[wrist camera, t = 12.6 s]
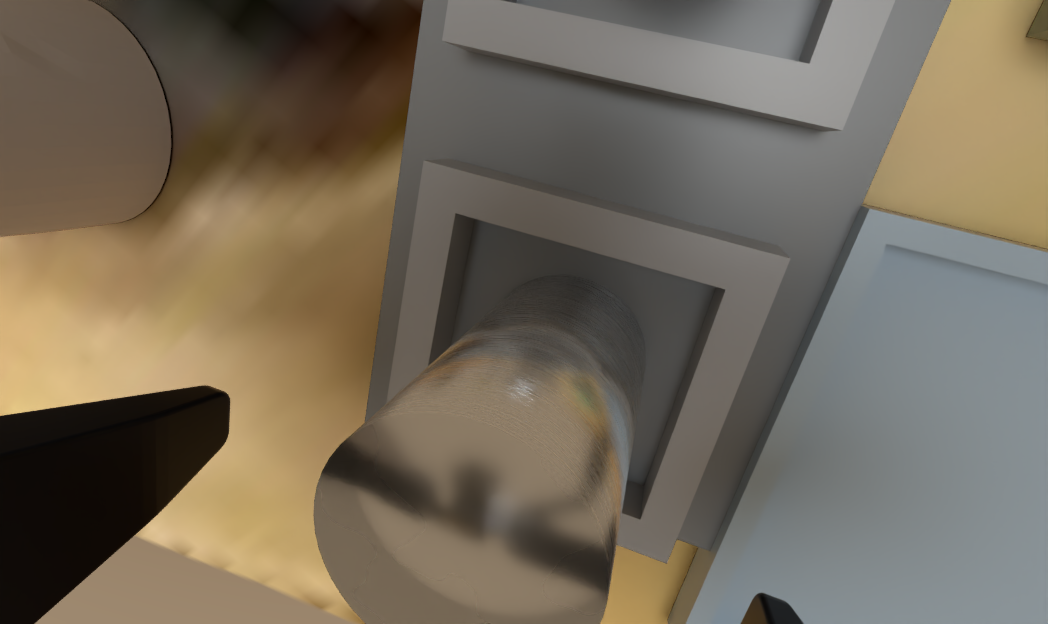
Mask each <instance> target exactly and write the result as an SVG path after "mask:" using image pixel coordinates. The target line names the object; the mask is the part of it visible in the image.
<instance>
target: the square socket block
mask: <svg viewBox="0 0 1048 624" xmlns="http://www.w3.org/2000/svg"><path fill="white" fill-rule="evenodd" d="M1026 37H1032V38H1037V39H1042V40H1048V0H1044V2H1043V4H1042V6H1041V8H1040V10H1039V12H1038V14H1037V16H1036V18H1035V20H1034V22H1033V24H1032V26H1031V28H1030V30H1029V32H1028V34H1027V36H1026Z"/></svg>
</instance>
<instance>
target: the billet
mask: <svg viewBox="0 0 1048 624" xmlns="http://www.w3.org/2000/svg"><path fill="white" fill-rule="evenodd" d="M645 366H646V347H645V341H644V337H643V334H642V331H641V328H640V326H639V324H638V322H637V320H636V318H635V316H634V315H633V313H632V312H631V310H630V309H629V308H628V306H627V305H626V304H625V303H624V302H623V301H622V300H621V299H620V298H619V297H618V296H617V295H616V294H614V293H613V292H612V291H610V290H609V289H607V288H606V287H604V286H602V285H600V284H598V283H596V282H594V281H591V280H589V279H586V278H582V277H578V276H573V275H549V276H543V277H539V278H536V279H533V280H530V281H528V282H526V283H524V284H522V285H521V286H519V287H517V288H516V289H514V290H513V291H512V292H511V293H510V294H509V295H508V296H506V297H505V298H504V299H503V300H502V301H501V302H500V303H499V304H497V305H496V306H495V307H494V308H493V309H492V310H491V311H490V312H488V313H487V314H486V315H485V316H484V317H483V318H482V319H481V320H480V321H478V322H477V323H476V324H475V325H474V326H473V327H472V328H471V329H469V330H468V331H467V332H466V333H465V334H464V335H463V336H462V337H461V338H459V339H458V340H457V341H456V342H455V343H454V344H453V345H452V346H450V347H449V348H448V349H447V350H446V351H445V352H444V353H443V354H441V355H440V356H439V357H438V358H437V359H436V360H435V361H434V362H433V363H431V364H430V365H429V366H428V367H427V368H426V369H425V370H424V371H422V372H421V373H420V374H419V375H418V376H417V377H416V378H415V379H413V380H412V381H411V382H410V383H409V384H408V385H407V386H406V387H405V388H403V389H402V390H401V391H400V392H399V393H398V394H397V395H396V396H394V397H393V398H392V399H391V400H390V401H389V402H388V403H387V404H386V405H384V406H383V407H382V408H381V409H380V410H379V411H378V412H377V413H375V414H374V415H373V416H372V417H371V418H370V419H369V420H368V421H366V422H365V423H364V424H363V425H362V426H361V427H360V428H359V429H358V430H356V431H355V432H354V433H353V434H352V435H351V436H350V437H349V438H347V439H346V440H345V441H344V442H343V443H342V444H341V445H340V446H339V447H338V448H337V449H336V451H335V452H334V453H333V454H332V456H331V457H330V458H329V460H328V462H327V464H326V465H325V467H324V469H323V471H322V473H321V476H320V479H319V482H318V484H317V489H316V494H315V499H314V525H315V534H316V538H317V542H318V547H319V550H320V553H321V556H322V559H323V561H324V564H325V566H326V568H327V570H328V572H329V575H330V577H331V579H332V581H333V582H334V584H335V585H336V587H337V589H338V590H339V592H340V593H341V595H342V596H343V598H344V599H345V600H346V602H347V603H348V604H349V605H350V607H351V608H352V609H353V611H354V612H355V613H356V614H357V615H358V616H359V617H360V618H361V619H362V620H363V621H364V622H365V623H366V624H600V622H601V620H602V618H603V615H604V611H605V608H606V604H607V600H608V594H609V588H610V581H611V575H612V569H613V563H614V557H615V551H616V545H617V538H618V532H619V526H620V520H621V514H622V508H623V502H624V496H625V489H626V483H627V477H628V471H629V465H630V459H631V453H632V447H633V440H634V434H635V428H636V422H637V416H638V410H639V404H640V397H641V391H642V385H643V379H644V373H645Z"/></svg>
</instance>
